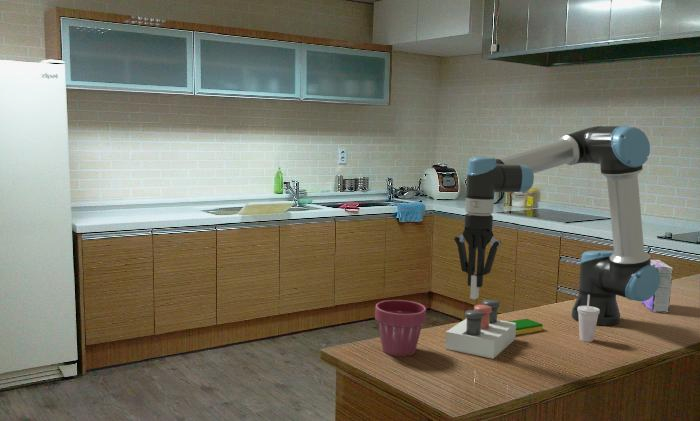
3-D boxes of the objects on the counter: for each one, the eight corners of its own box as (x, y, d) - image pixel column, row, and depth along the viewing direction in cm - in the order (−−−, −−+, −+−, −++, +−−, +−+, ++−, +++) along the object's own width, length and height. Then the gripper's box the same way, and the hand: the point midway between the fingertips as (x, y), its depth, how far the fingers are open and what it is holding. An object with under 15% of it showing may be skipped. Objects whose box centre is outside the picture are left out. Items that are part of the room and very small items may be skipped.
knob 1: (484, 332, 181) (486, 312, 181) (478, 337, 177) (479, 316, 176) (468, 329, 184) (469, 309, 183) (461, 334, 180) (462, 313, 179)
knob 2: (500, 320, 193) (501, 301, 193) (495, 324, 189) (496, 305, 188) (484, 318, 196) (485, 298, 195) (479, 321, 192) (480, 302, 191)
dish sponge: (542, 331, 202) (543, 324, 202) (509, 337, 195) (509, 329, 195) (526, 325, 208) (527, 318, 208) (493, 330, 201) (494, 323, 201)
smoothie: (571, 339, 193) (574, 294, 191) (580, 335, 198) (583, 290, 196) (592, 344, 189) (595, 298, 187) (601, 340, 193) (604, 294, 192)
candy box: (639, 302, 239) (643, 258, 237) (656, 303, 238) (660, 259, 236) (651, 312, 225) (655, 266, 223) (669, 313, 224) (673, 267, 222)
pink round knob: (493, 326, 187) (494, 306, 187) (487, 330, 183) (488, 310, 182) (476, 323, 190) (477, 303, 189) (470, 327, 186) (471, 307, 185)
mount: (515, 339, 192) (516, 323, 191) (493, 358, 175) (494, 340, 174) (470, 330, 199) (471, 315, 199) (445, 348, 182) (445, 331, 182)
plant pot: (432, 357, 175) (434, 311, 173) (383, 361, 171) (385, 314, 169) (412, 340, 188) (414, 298, 187) (367, 344, 184) (368, 300, 183)
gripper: (451, 212, 177) (447, 296, 179) (497, 217, 170) (492, 304, 173) (461, 210, 183) (457, 291, 186) (506, 214, 176) (501, 298, 179)
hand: (474, 297), depth 179 cm, fingers closed
